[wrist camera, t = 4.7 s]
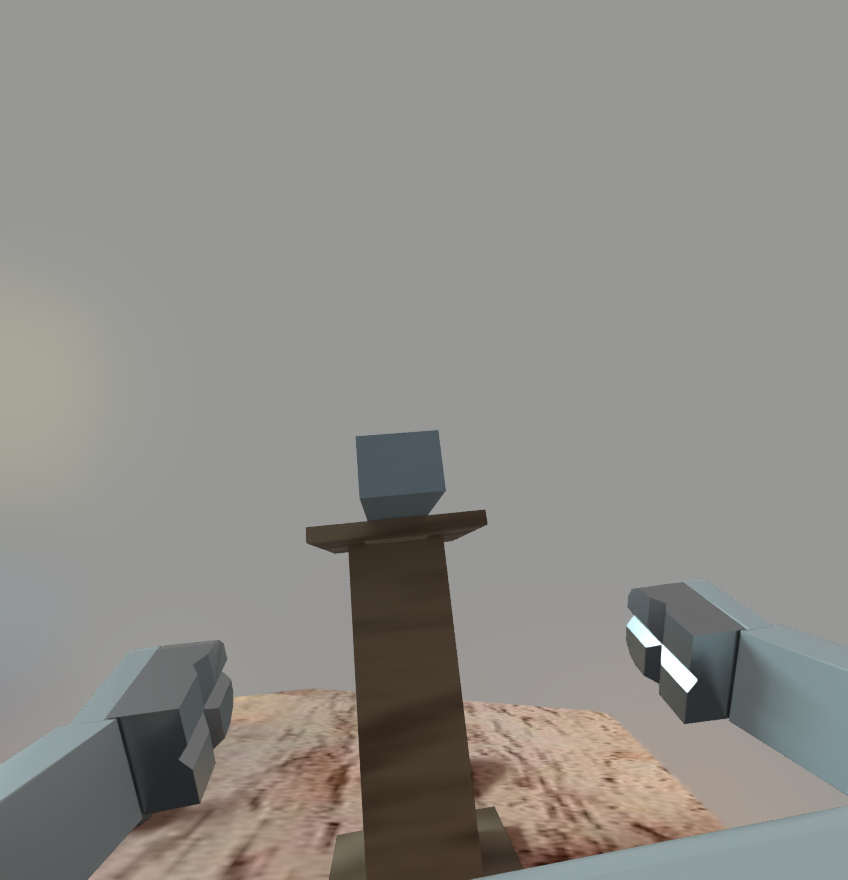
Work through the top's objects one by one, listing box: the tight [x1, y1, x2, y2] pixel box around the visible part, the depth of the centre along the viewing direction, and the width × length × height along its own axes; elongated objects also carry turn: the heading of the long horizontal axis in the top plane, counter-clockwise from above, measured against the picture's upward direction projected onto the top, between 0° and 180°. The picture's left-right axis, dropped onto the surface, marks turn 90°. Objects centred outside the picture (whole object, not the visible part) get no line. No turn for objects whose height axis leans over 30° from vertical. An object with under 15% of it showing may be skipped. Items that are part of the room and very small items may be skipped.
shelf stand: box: [306, 510, 523, 880], centre depth 32 cm, size 17×14×26 cm
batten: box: [356, 430, 446, 521], centre depth 31 cm, size 24×4×3 cm, turn 5°
